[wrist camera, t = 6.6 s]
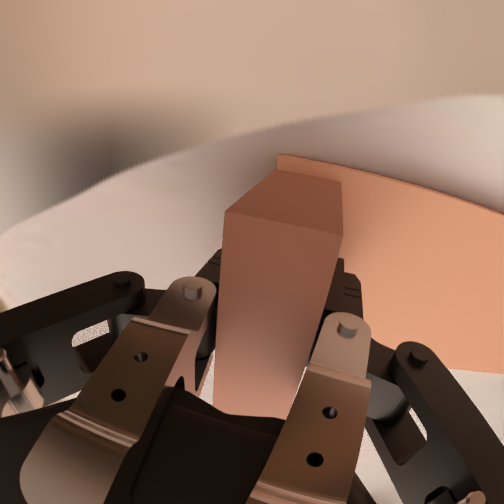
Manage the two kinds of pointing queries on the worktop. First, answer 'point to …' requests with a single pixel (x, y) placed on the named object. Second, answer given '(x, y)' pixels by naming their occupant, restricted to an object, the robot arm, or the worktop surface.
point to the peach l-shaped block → (355, 262)
